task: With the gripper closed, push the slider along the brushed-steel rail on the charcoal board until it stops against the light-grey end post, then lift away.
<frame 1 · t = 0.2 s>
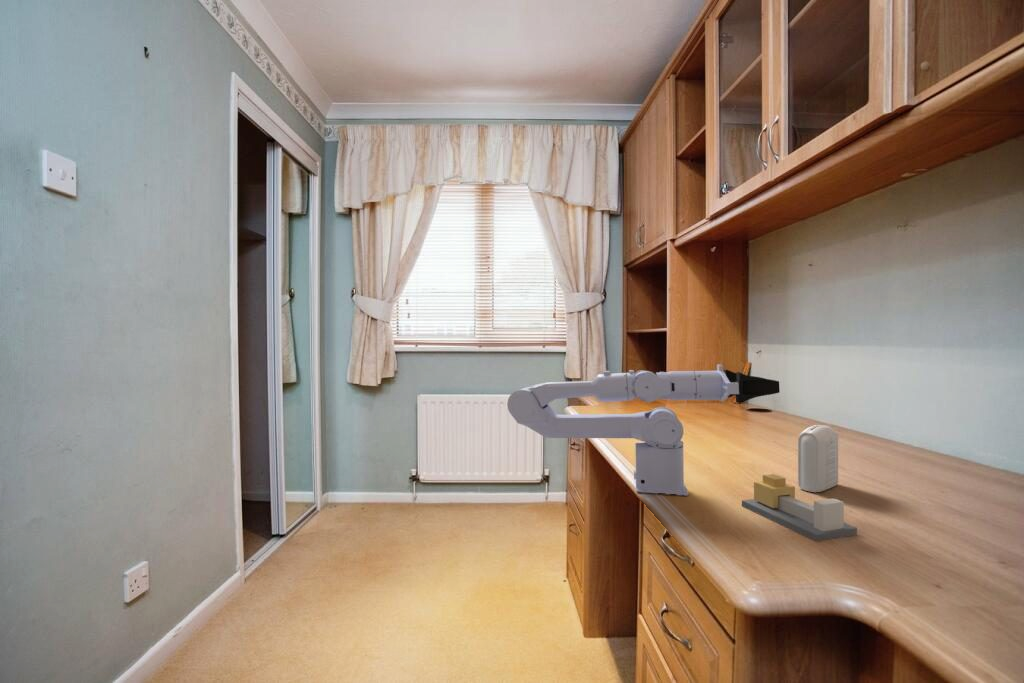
hand: (771, 385, 81), 21 cm above the table, tool horizontal, fingers open, 7 cm apart
slider: (774, 489, 75), point 4 cm above the table, slide at 0.0 cm
rail board: (794, 519, 71), on the table
photo printer: (818, 487, 86), on the table
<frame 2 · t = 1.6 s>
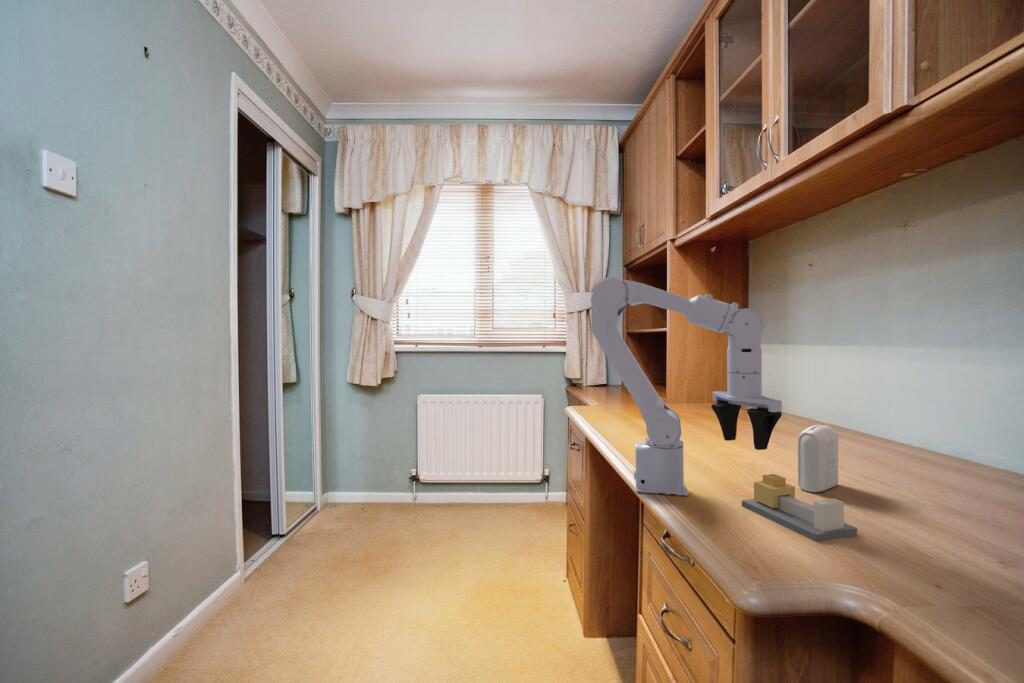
hand: (744, 444, 81), 10 cm above the table, tool pointing down, fingers open, 7 cm apart
nothing on the table moved.
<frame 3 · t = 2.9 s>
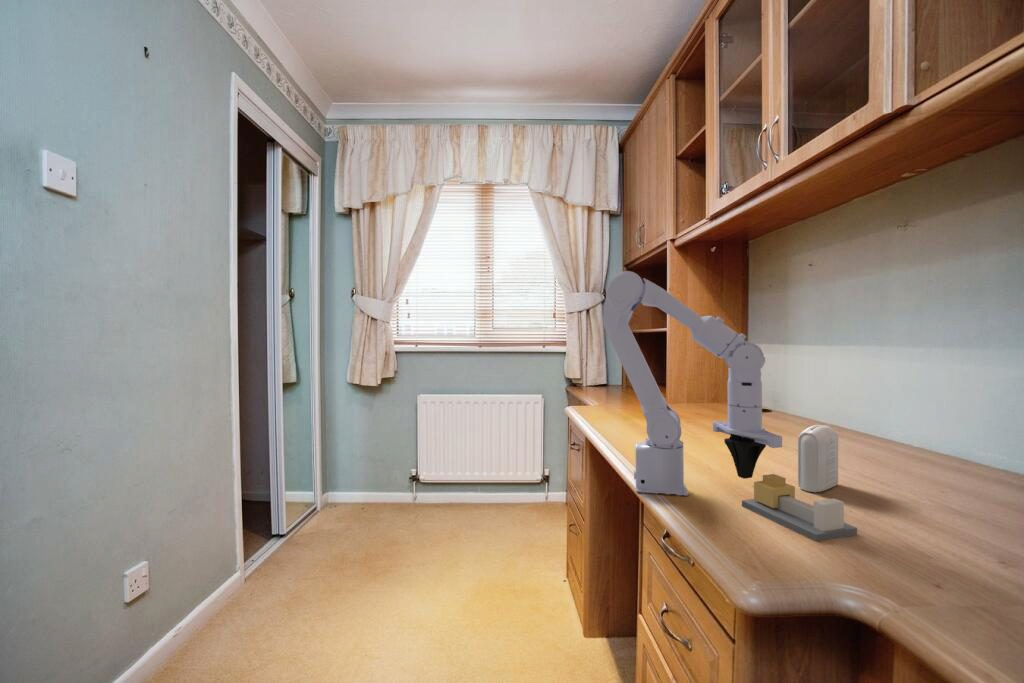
hand: (745, 477, 81), 4 cm above the table, tool pointing down, fingers closed
nothing on the table moved.
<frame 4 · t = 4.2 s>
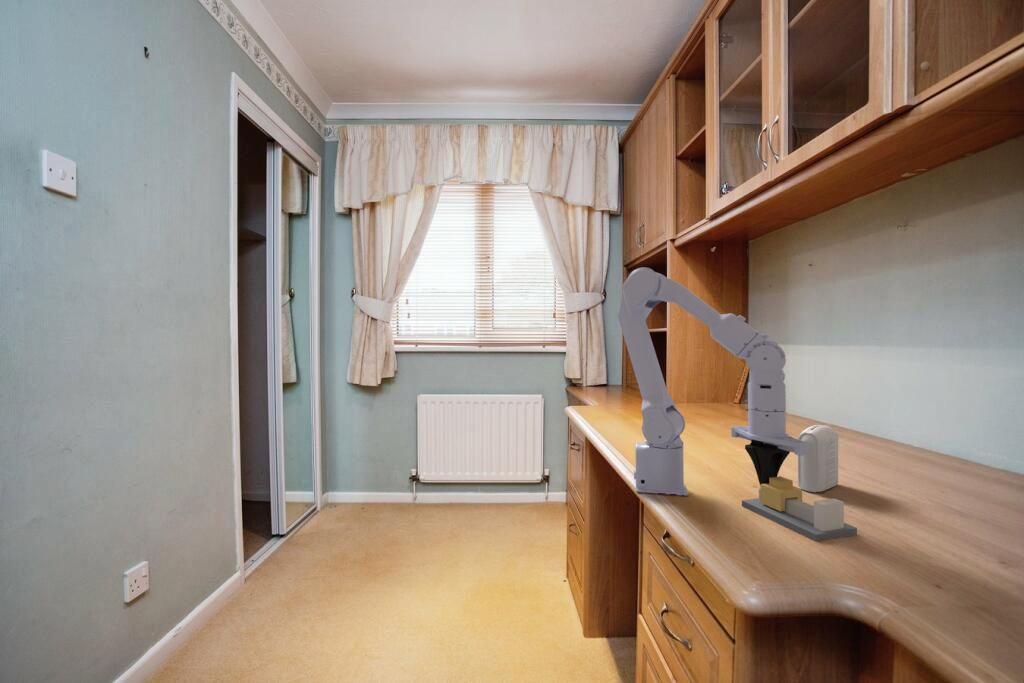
hand: (767, 485, 76), 4 cm above the table, tool pointing down, fingers closed
slider: (780, 492, 73), point 4 cm above the table, slide at 1.4 cm, touching gripper
everything else where it was.
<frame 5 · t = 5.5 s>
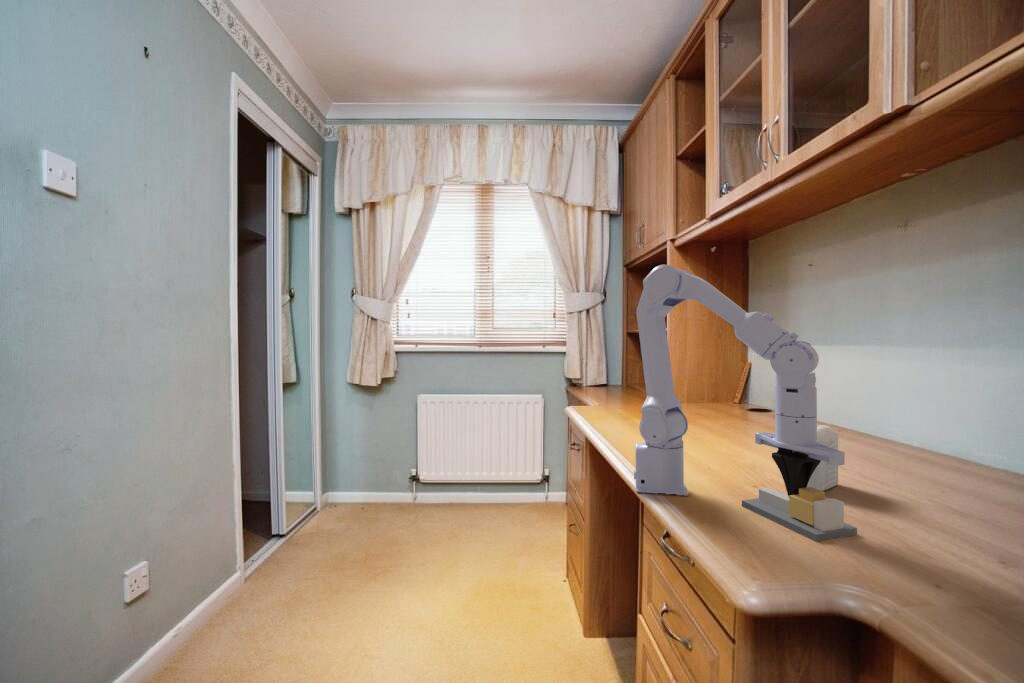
hand: (796, 497, 71), 4 cm above the table, tool pointing down, fingers closed
slider: (811, 504, 68), point 4 cm above the table, slide at 7.0 cm, touching gripper, rail board
everything else where it was.
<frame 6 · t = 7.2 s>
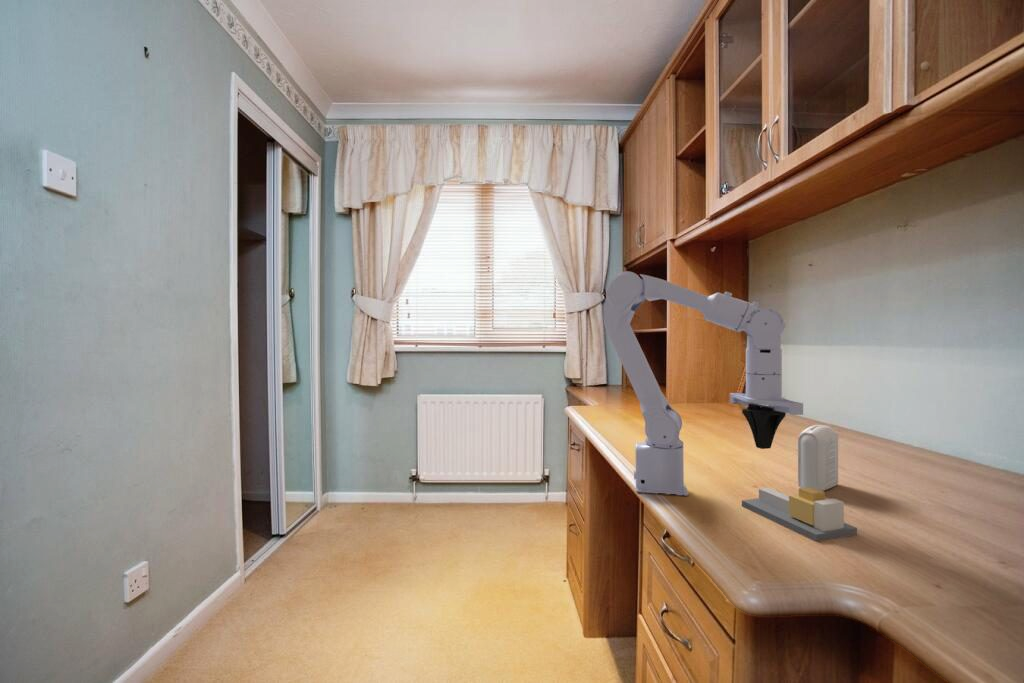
hand: (763, 447, 79), 10 cm above the table, tool pointing down, fingers closed
slider: (811, 504, 68), point 4 cm above the table, slide at 7.0 cm, touching rail board
everything else where it was.
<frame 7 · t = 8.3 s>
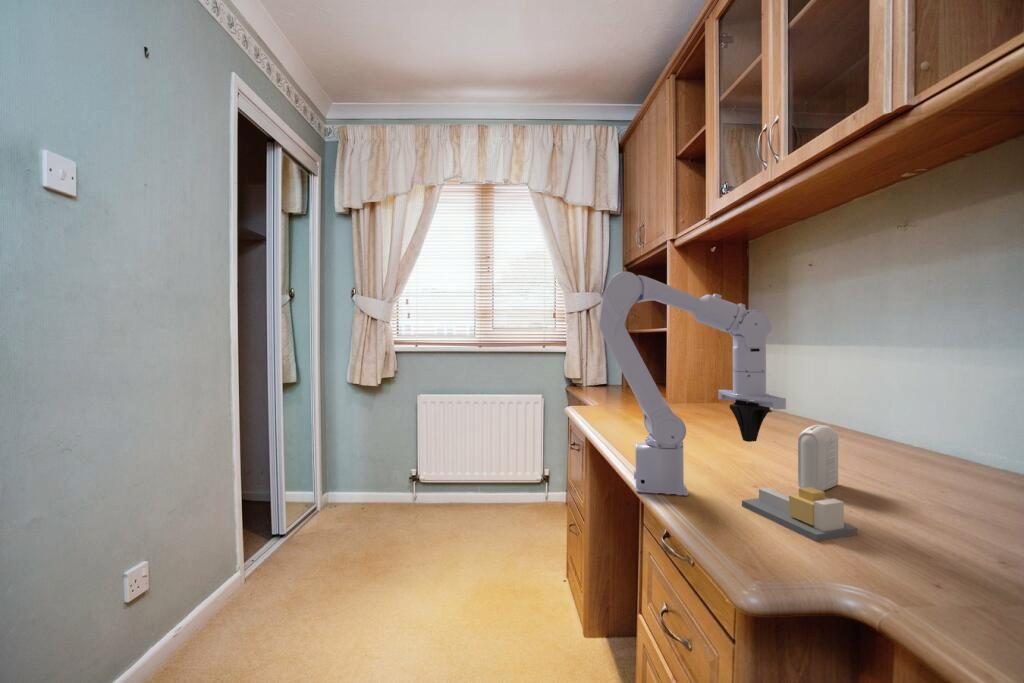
hand: (749, 440, 84), 10 cm above the table, tool pointing down, fingers closed
nothing on the table moved.
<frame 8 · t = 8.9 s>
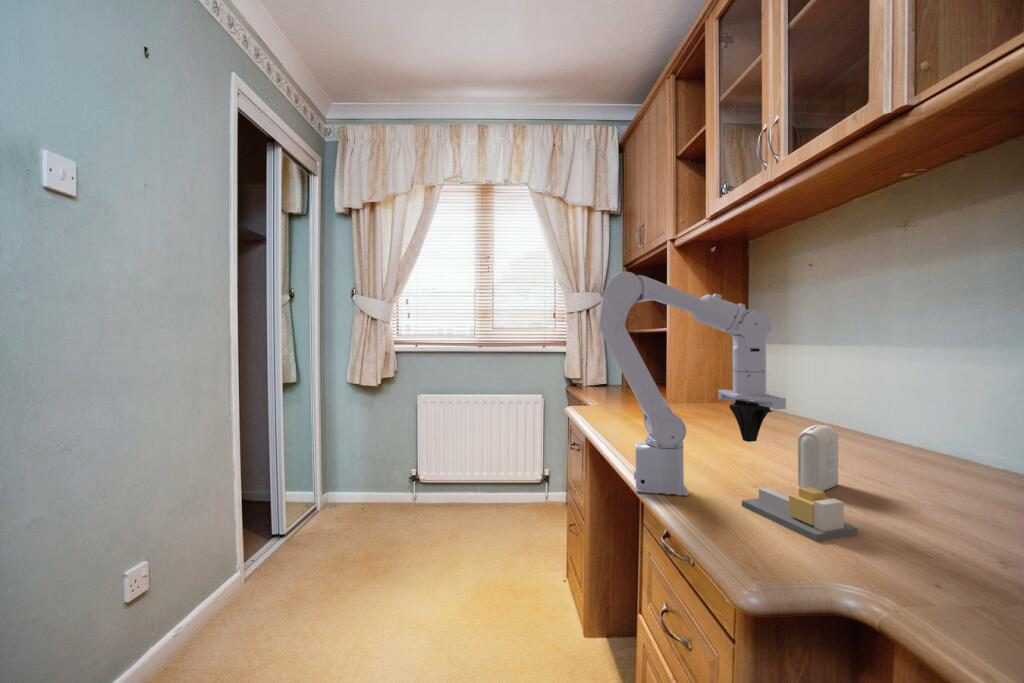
hand: (749, 440, 84), 10 cm above the table, tool pointing down, fingers closed
nothing on the table moved.
at the end: slider slide at 7.0 cm; slider 0.2 cm from the target spot, resting on rail board; the gripper is holding nothing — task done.
